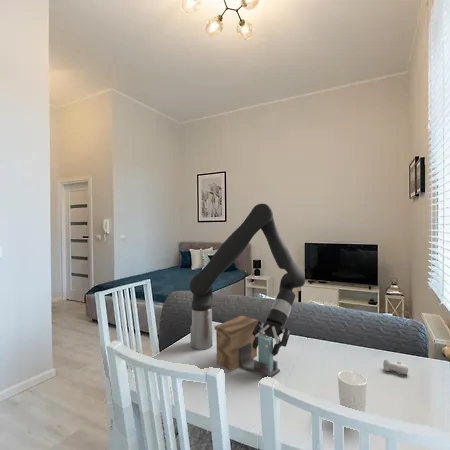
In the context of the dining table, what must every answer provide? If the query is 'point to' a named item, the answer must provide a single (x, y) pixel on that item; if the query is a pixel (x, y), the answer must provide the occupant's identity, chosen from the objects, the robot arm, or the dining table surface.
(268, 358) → the tall teal block
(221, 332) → the hinge cabinet
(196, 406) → the dining table surface
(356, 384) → the white cup
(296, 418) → the dining table surface
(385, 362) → the pale two-lobed sculpture
